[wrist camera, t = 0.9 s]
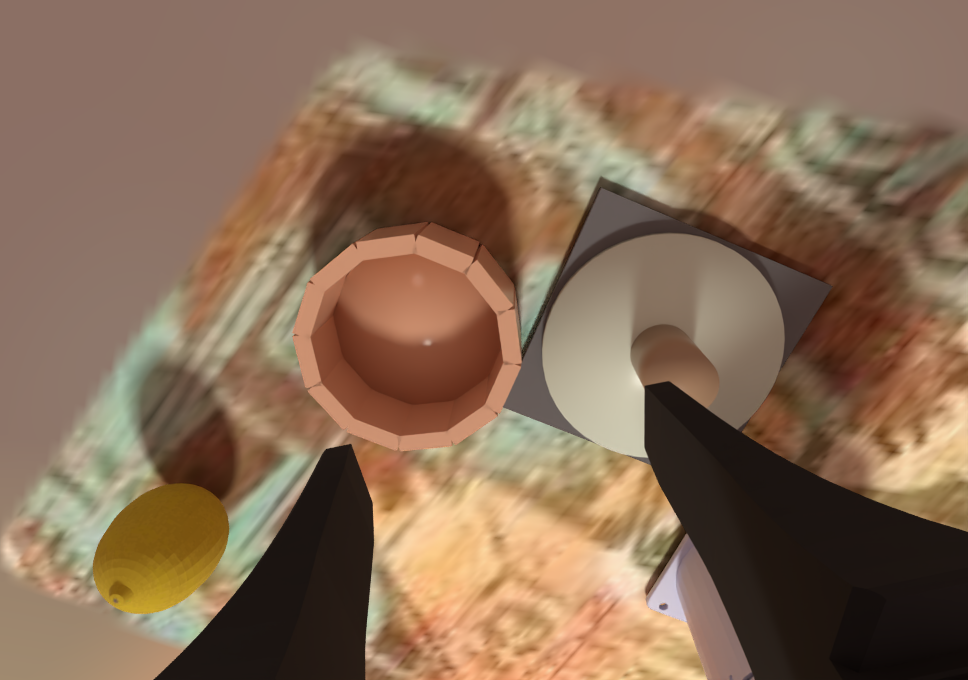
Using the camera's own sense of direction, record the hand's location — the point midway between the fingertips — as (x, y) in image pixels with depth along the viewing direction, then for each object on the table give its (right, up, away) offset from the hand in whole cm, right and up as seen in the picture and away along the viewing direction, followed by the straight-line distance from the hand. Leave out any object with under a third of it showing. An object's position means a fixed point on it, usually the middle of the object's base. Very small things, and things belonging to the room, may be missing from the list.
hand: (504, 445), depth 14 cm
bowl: (-4, +3, +16) cm, 16 cm away
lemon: (-17, -7, +20) cm, 27 cm away
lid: (+8, +2, +15) cm, 17 cm away
